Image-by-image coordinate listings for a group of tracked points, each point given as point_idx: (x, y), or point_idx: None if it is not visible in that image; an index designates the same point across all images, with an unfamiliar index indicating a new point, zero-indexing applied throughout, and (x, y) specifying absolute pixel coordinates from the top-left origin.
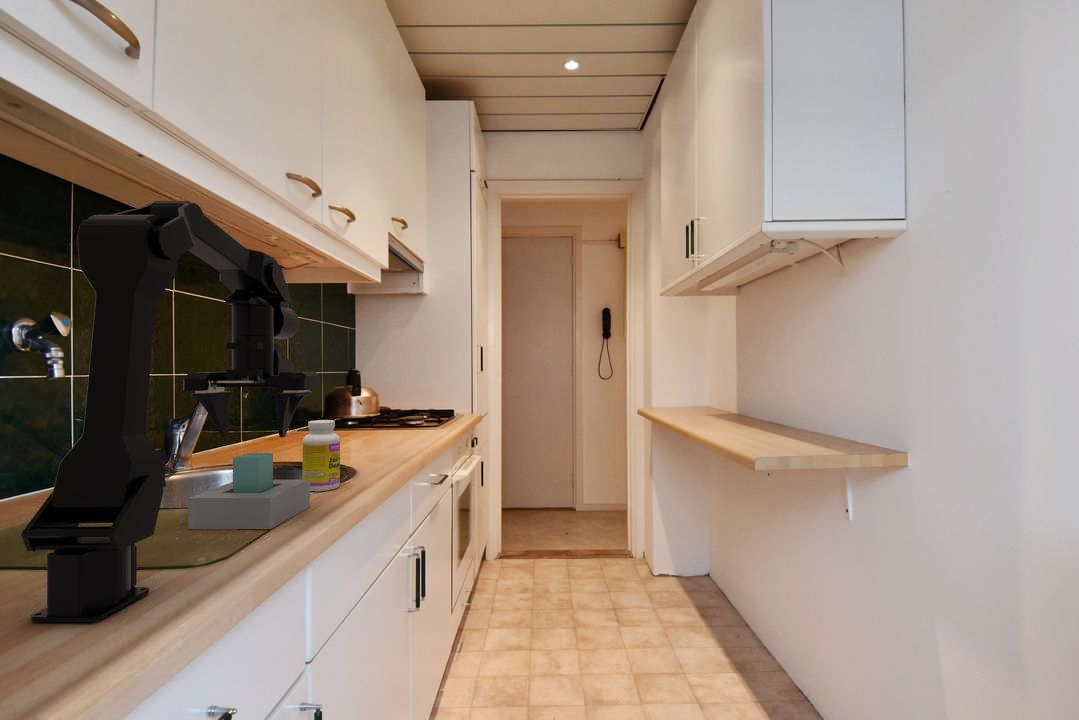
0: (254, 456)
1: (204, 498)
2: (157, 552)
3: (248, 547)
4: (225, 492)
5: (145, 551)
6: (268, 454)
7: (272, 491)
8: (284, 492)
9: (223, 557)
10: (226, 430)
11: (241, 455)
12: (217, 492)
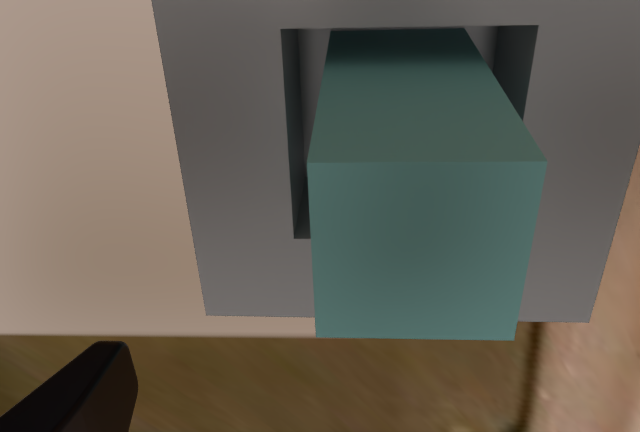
0: (459, 305)
1: (281, 315)
2: (309, 399)
3: (547, 374)
4: (293, 212)
5: (270, 393)
6: (534, 226)
7: (551, 212)
8: (617, 207)
9: (512, 427)
10: (106, 407)
11: (324, 266)
12: (263, 230)
